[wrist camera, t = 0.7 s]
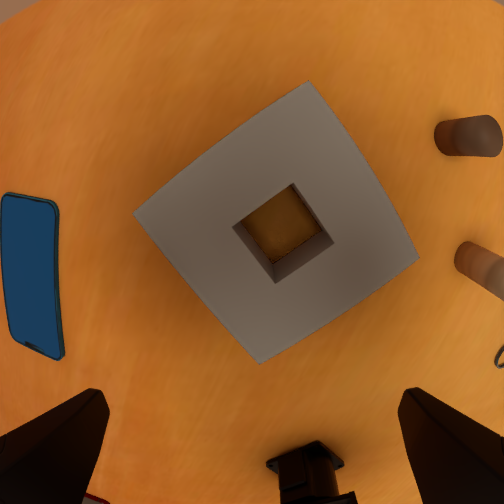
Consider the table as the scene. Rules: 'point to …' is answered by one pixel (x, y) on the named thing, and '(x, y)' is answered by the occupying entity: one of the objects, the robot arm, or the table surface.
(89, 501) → the grey red flat slab
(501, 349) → the syringe
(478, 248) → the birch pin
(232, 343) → the table surface
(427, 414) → the robot arm
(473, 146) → the wenge pin
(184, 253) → the socket block
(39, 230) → the smartphone
